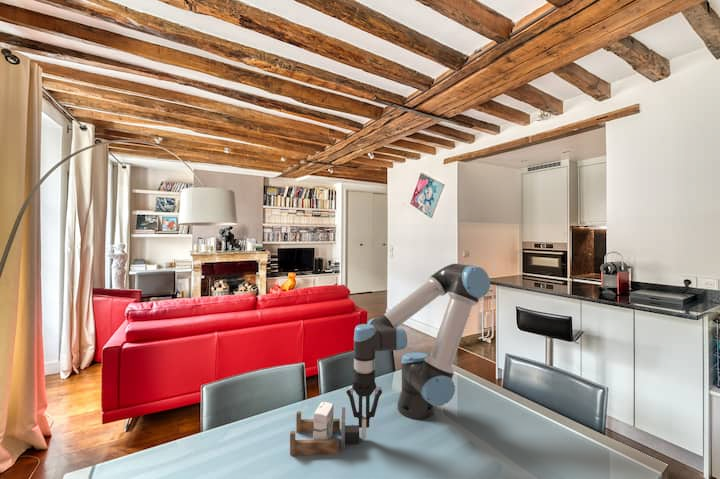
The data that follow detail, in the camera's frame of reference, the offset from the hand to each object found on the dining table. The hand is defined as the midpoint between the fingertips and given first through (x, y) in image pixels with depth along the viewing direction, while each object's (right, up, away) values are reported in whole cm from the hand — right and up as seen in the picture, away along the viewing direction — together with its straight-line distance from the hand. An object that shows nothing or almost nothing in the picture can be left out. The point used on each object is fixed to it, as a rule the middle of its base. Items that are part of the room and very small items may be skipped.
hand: (363, 435), depth 109 cm
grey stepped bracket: (-5, -1, 0) cm, 5 cm away
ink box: (-14, -2, 0) cm, 14 cm away
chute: (-16, -2, 0) cm, 16 cm away
